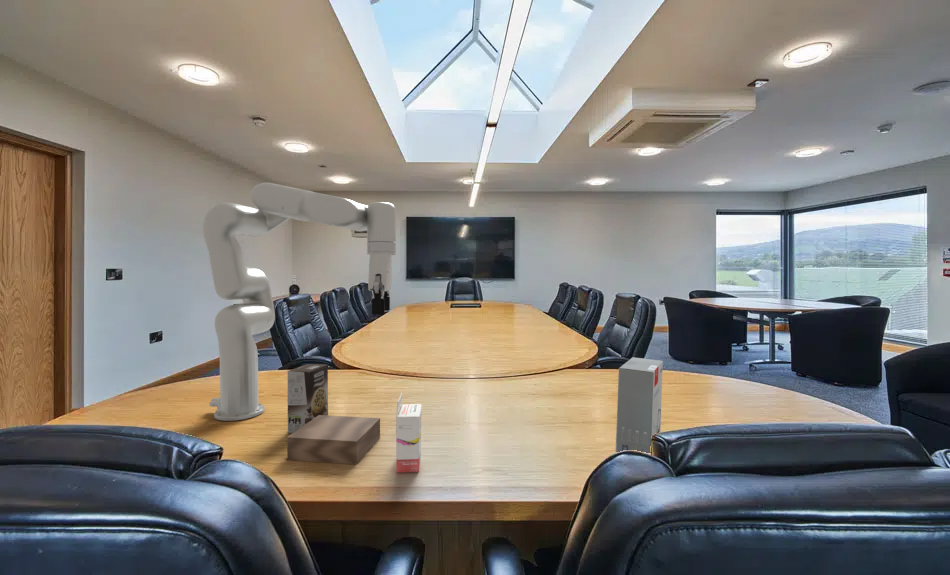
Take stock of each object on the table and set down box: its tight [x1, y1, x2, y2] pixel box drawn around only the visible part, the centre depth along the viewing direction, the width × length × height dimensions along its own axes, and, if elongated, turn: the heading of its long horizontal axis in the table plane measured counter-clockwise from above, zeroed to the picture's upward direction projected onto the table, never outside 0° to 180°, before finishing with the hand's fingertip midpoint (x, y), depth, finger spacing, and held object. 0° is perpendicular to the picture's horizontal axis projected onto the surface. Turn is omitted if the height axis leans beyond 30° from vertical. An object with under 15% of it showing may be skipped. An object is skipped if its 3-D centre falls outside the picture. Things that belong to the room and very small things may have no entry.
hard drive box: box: [615, 356, 664, 453], centre depth 97 cm, size 16×8×20 cm, turn 148°
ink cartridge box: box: [395, 391, 423, 474], centre depth 88 cm, size 9×5×15 cm, turn 5°
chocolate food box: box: [287, 363, 329, 434], centre depth 108 cm, size 9×6×16 cm
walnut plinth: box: [286, 414, 381, 465], centre depth 95 cm, size 16×14×5 cm
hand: (381, 312), depth 111 cm, fingers open, 9 cm apart
